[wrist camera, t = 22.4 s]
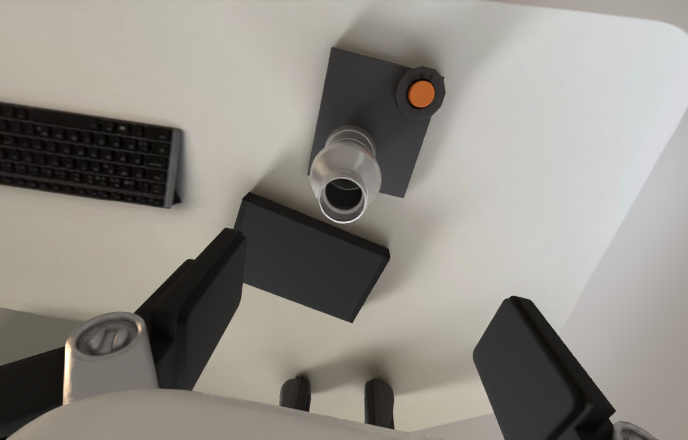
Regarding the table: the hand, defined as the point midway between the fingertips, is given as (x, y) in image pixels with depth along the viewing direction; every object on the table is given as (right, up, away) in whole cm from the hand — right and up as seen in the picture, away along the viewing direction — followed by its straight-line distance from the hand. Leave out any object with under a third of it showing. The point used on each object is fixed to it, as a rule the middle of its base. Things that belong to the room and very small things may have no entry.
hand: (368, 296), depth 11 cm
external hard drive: (-7, -3, +38) cm, 39 cm away
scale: (+3, +15, +30) cm, 33 cm away
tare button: (+8, +18, +25) cm, 32 cm away
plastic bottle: (0, +12, +30) cm, 32 cm away
